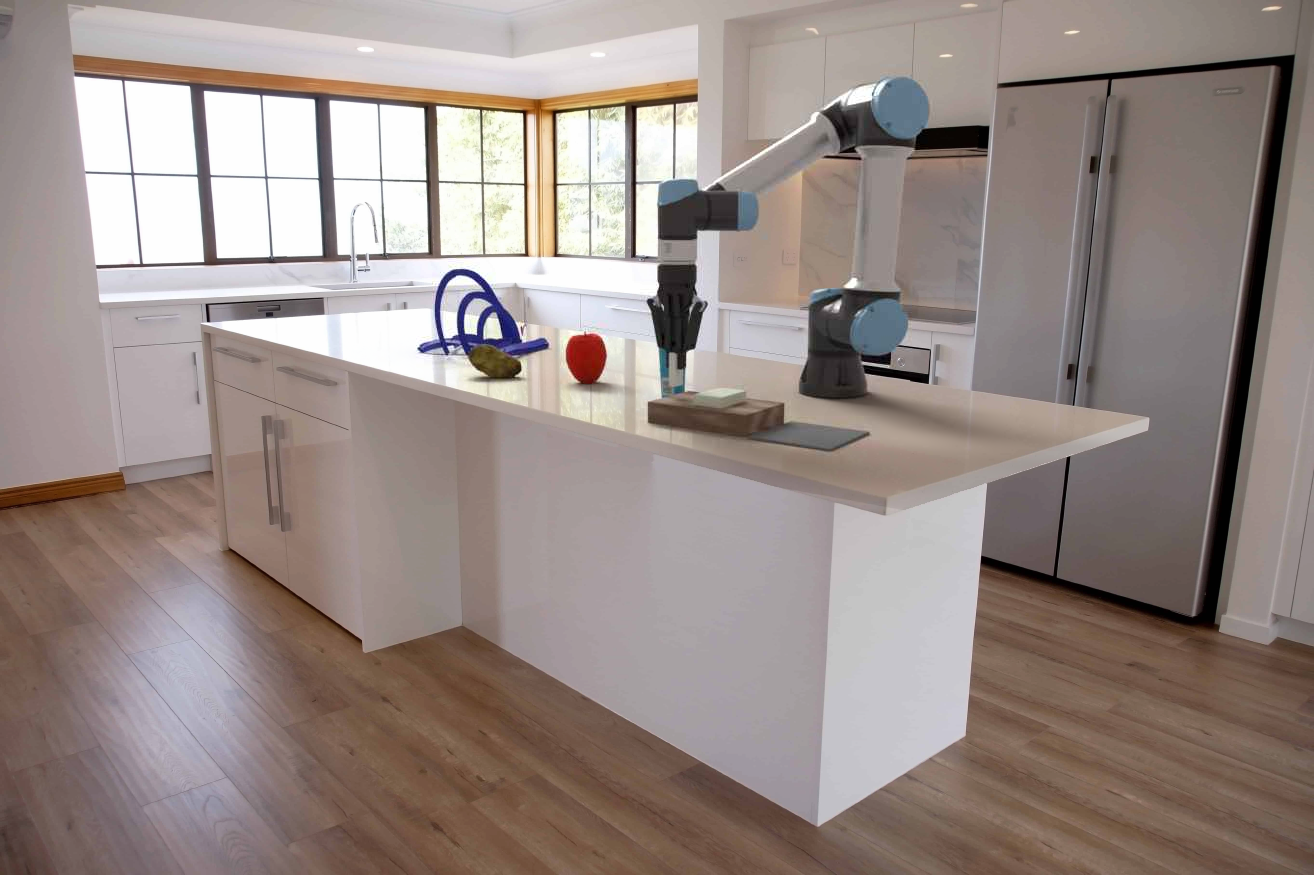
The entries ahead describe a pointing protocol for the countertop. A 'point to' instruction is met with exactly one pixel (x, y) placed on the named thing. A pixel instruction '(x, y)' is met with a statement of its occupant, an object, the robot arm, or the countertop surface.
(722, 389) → the pale green block
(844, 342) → the robot arm
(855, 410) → the countertop surface
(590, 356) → the apple
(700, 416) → the board
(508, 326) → the sculpture
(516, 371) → the potato
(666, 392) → the tube
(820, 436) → the mat
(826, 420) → the countertop surface
